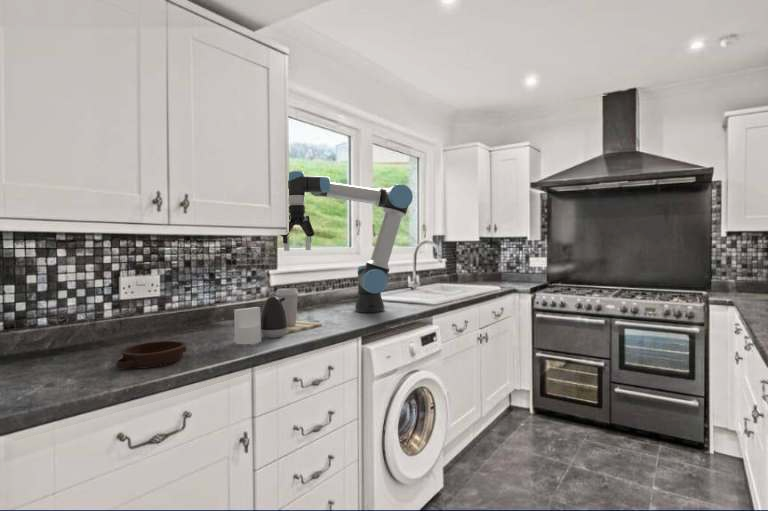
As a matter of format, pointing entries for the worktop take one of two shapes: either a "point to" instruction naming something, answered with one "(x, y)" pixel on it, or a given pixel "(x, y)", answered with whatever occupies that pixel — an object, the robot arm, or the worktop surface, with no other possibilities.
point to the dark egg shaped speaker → (273, 318)
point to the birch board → (301, 326)
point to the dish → (151, 354)
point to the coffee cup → (289, 303)
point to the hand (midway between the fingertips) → (297, 250)
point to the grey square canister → (247, 325)
